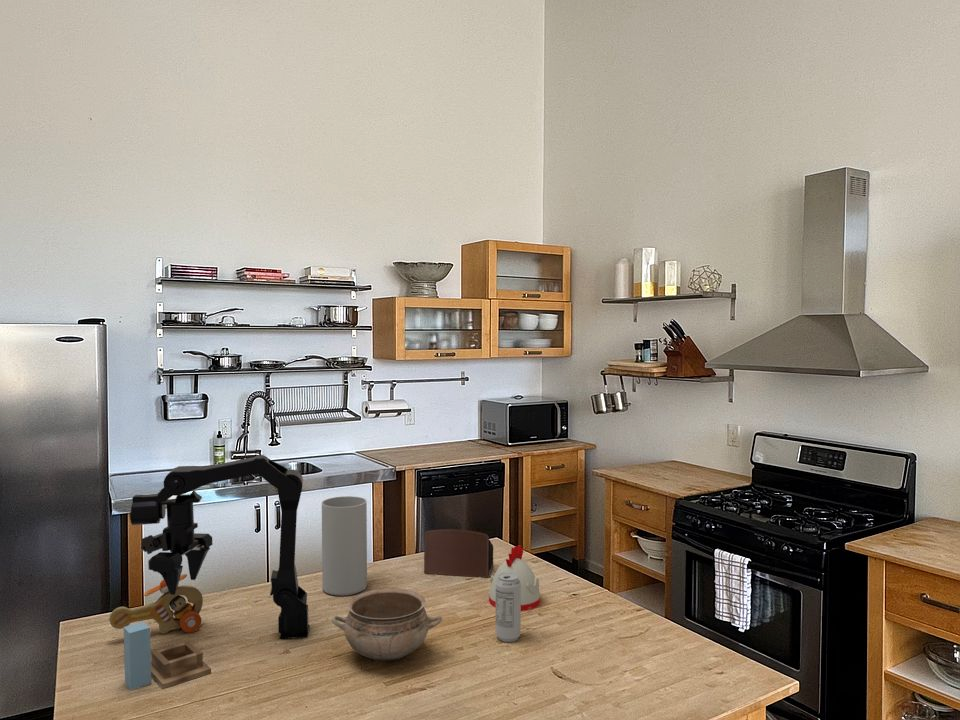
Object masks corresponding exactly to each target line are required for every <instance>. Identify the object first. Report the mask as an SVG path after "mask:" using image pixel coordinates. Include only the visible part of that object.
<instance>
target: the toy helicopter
mask: <svg viewBox="0 0 960 720" xmlns="http://www.w3.org/2000/svg"><path fill="white" fill-rule="evenodd" d="M187 576H188V574H186V573H183V574H181V576H180V580H179V582H181V581H183V580H184V579H186V578H187ZM156 592H159V593H161V594H162V595H161V596H159V598H157V600H156V601H154V602H153V603H150V604H144V605H142V606H137V607H133V608H128V607H126V606H118V607H116V608H115V609H113V610H112V612H110V615H109V623H110V625H111V626H112V628H114V629H115V630H116V629H117V630H121V629H124V627H126V626H129V625H131V623H135V622H137V623H138V622H144V621H148V620H154V622H156V623H157V624H158V630H159V632H160V634H167V633H169V632H170V631H171V630H173V629H180V628H181V630H182V631H183V632H185V633H188V634H189V633H194V632H196V631H197V630H198V629H200V627H201V624H202V617H201V615H200V613H201V611H202V607H203V601H204V600H203V599H204V598H203V595H202V592H201V591H200V590H199V589H198V588H197V587H196V586H192V585H189V584H188V585H187V584H184V585H178V588H177V591H176V594H175V595H171V594H170V592H169V590H168V588H167V585H166V583H165V581H164V579H162V580H161V581H160V583H159V584H158V585H156V586H154V587H153V588H150V589H148V590H147V591H145V592H144V594H143V596H144V597H148V596H150V595H152V594H155V593H156ZM185 597H186V598H185ZM186 599H187V600H186Z"/></svg>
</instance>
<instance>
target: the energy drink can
mask: <svg viewBox="0 0 960 720" xmlns="http://www.w3.org/2000/svg"><path fill="white" fill-rule="evenodd" d="M521 614H522V611H521V583H520V581H519V579H518V575H516V574H514V573H502V574H500V575H499V576H498V580H497V581H496V608H495V635H496V637H497V639H498V640H499V641H500V642H504V643H513V642H516V641H518V640H519V637H520V636H521V633H522V631H521V629H522V628H521V626H522V625H521V621H522V620H521V619H522V618H521Z"/></svg>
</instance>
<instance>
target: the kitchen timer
mask: <svg viewBox="0 0 960 720" xmlns="http://www.w3.org/2000/svg"><path fill="white" fill-rule="evenodd" d="M510 551H511V552H509V553H508V558H505V561H504V562H503V563H501V564H500V565H499V567H498V568H497V569H496V572H494V574H492V575H491V576H490V584H491V585H490V587H489V590H488V591H489V592H488V603H489V602H490V603H489V604H490V605H491V606H492V607H493V608H495V609H496V581H497V580H498V576H499V575H500V574H502V573H514V574H516V575H518V579H519V581H520V583H521V612H525V611H529V610H533V609H534V608H538V607H539V605H540V604H541V593H540V583H539V582H540V581H539V577H536V576H535V574H534V572H533V570H532V569H531V567H530V565H528V564H527V562H525V561H524V560H523V554H524V548H523V547H522V545H519V544H518V545H516V546H514V547H511V549H510Z"/></svg>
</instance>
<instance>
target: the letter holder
mask: <svg viewBox="0 0 960 720" xmlns="http://www.w3.org/2000/svg"><path fill="white" fill-rule="evenodd" d="M423 535H424V537H423V538H424V539H423V540H424V542H423V543H424V544H423V545H424V546H423V551H424V552H423V562H424V563H423V565H424V566H423V572H424V573H423V574H424V575H433V574H437V575H438V576H453V577H463V578H464V577H465V578H466V577H467V578H479V577H481V578H480V579H488V578H489V577H490V575H491V573H492V571H493V569H494V545H493V543H492V541H491V540H490V537H489V535H488V534H487V533H485V532H480V531H475V530H468V529H467V530H466V529H455V528H454V529H453V528H446V529H445V528H441V529H430V530H426V531H425V532H424V534H423ZM437 575H436V576H437Z"/></svg>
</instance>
